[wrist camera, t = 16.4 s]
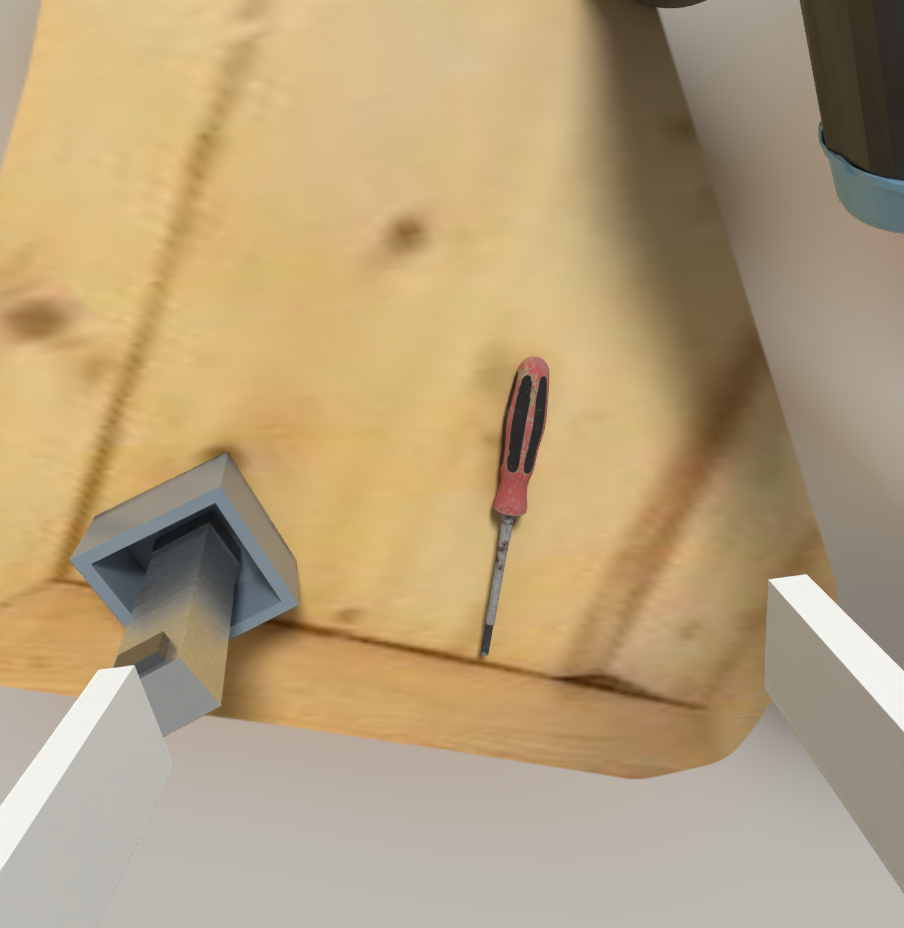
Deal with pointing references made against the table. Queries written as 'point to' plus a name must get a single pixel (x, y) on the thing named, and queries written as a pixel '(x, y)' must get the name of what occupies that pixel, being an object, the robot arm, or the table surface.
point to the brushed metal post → (183, 621)
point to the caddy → (168, 507)
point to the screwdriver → (517, 463)
